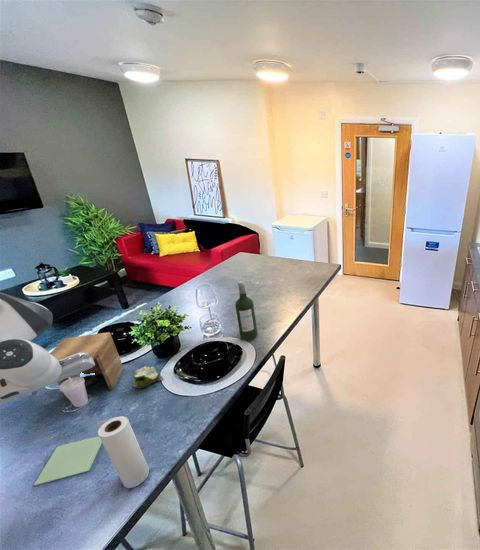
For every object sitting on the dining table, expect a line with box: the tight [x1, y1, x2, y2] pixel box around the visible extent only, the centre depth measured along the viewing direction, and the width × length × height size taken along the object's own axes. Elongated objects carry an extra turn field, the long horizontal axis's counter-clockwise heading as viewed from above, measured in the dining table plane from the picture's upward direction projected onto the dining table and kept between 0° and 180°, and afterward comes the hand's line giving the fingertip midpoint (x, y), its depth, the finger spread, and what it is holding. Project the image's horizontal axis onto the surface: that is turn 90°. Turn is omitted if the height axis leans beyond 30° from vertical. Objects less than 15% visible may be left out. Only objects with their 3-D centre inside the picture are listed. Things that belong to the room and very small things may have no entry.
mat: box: [33, 435, 103, 487], centre depth 86 cm, size 12×12×1 cm
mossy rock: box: [132, 366, 164, 389], centre depth 113 cm, size 9×9×8 cm
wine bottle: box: [234, 280, 258, 341], centre depth 138 cm, size 8×8×30 cm
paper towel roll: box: [96, 415, 150, 489], centre depth 78 cm, size 7×6×21 cm
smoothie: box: [58, 377, 89, 408], centre depth 101 cm, size 6×6×14 cm
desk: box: [49, 331, 125, 400], centre depth 107 cm, size 14×16×18 cm
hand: (55, 383), depth 88 cm, fingers open, 8 cm apart
